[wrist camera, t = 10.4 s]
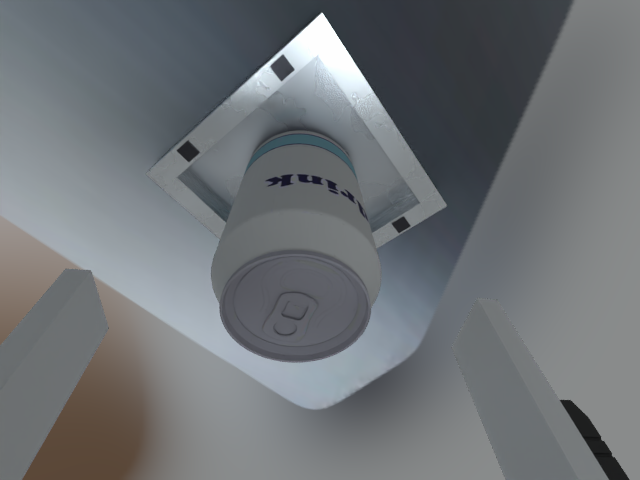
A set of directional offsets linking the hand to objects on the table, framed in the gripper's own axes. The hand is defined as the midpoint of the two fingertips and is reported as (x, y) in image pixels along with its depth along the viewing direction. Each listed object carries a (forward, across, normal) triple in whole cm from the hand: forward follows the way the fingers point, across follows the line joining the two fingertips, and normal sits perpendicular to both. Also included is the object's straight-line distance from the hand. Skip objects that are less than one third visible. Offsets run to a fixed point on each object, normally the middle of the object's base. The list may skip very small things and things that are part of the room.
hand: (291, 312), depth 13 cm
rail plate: (+13, 0, -1) cm, 13 cm away
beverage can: (+12, 0, -1) cm, 12 cm away
